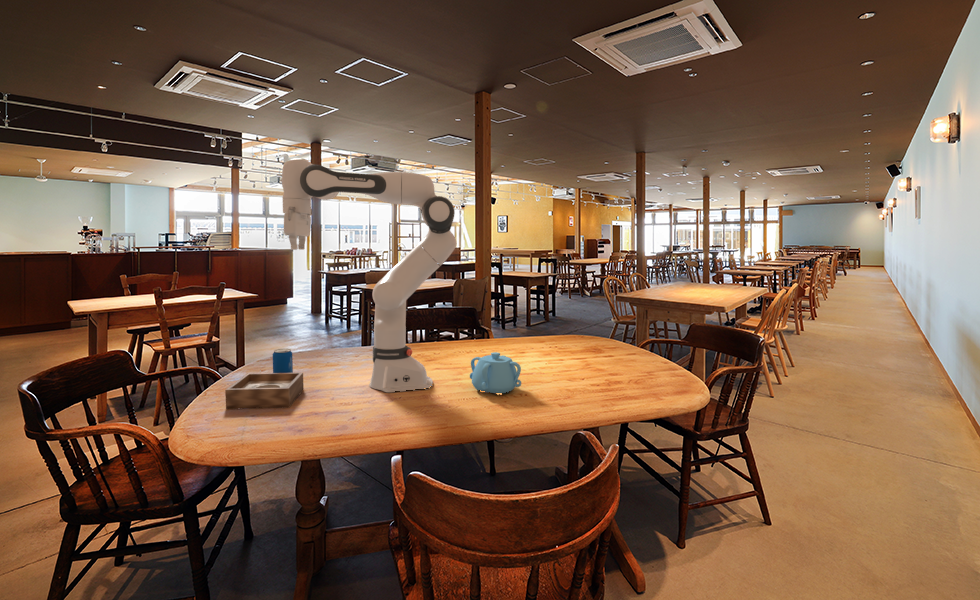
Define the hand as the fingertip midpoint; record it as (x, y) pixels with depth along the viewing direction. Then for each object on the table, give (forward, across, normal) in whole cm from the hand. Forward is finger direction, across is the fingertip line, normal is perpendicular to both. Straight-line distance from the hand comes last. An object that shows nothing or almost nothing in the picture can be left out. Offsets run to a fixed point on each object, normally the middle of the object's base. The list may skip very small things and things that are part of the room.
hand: (297, 249), depth 157 cm
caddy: (+48, -12, +7) cm, 50 cm away
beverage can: (+48, +5, +7) cm, 49 cm away
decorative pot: (+48, -9, -68) cm, 84 cm away
